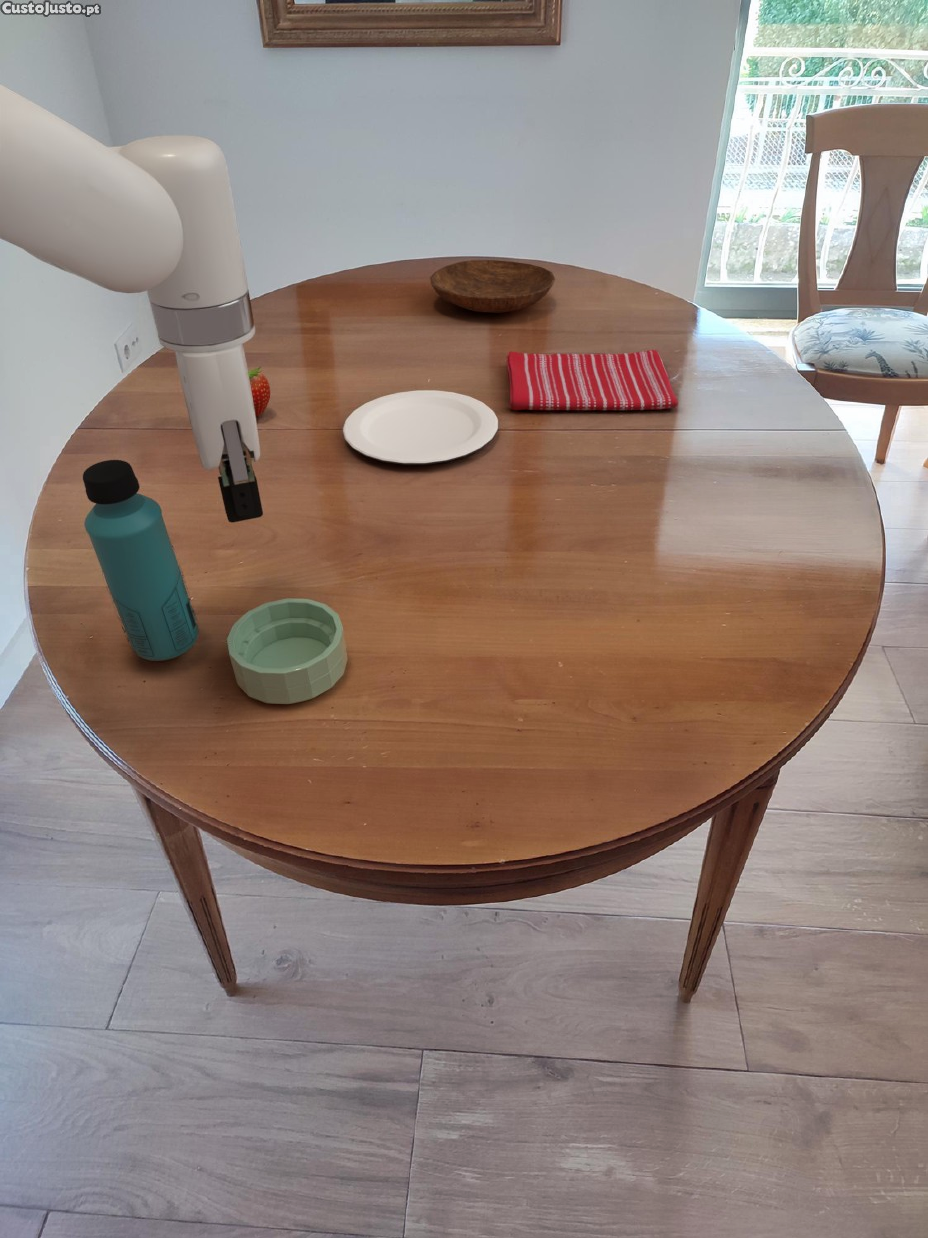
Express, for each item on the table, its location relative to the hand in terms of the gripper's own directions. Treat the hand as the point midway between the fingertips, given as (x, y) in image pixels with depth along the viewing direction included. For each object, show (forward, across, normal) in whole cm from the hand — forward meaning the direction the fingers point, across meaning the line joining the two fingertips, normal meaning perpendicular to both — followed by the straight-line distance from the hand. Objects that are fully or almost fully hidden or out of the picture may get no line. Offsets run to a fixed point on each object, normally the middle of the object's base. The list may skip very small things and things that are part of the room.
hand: (244, 515), depth 78 cm
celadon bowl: (+12, +10, +1) cm, 15 cm away
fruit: (+11, -44, +7) cm, 46 cm away
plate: (+11, -30, +27) cm, 41 cm away
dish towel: (+10, -34, +54) cm, 64 cm away
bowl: (+10, -71, +54) cm, 89 cm away
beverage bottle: (+12, +2, -10) cm, 16 cm away
